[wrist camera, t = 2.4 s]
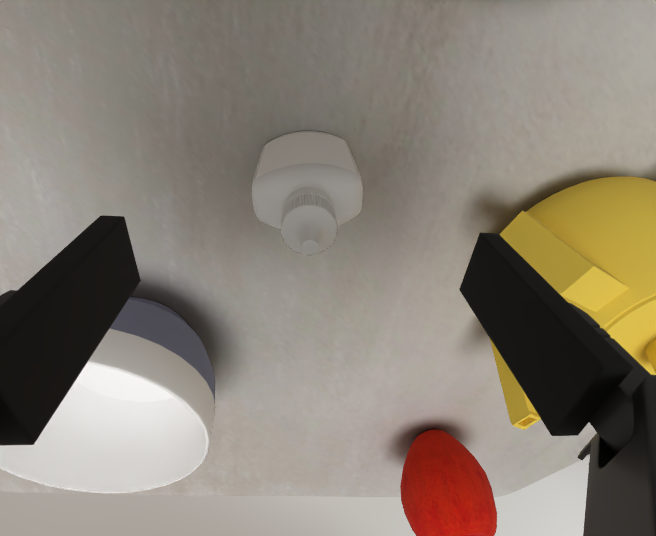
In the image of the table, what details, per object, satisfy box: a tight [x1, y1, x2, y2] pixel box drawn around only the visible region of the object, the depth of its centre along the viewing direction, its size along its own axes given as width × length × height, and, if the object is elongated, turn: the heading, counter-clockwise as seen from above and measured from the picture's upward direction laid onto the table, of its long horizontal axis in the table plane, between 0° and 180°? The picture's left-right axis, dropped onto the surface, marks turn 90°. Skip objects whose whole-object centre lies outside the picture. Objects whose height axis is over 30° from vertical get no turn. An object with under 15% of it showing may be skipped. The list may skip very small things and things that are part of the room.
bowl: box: [0, 297, 215, 493], centre depth 28 cm, size 16×16×10 cm
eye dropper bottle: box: [251, 131, 363, 255], centre depth 19 cm, size 4×6×12 cm
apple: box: [400, 429, 497, 536], centre depth 39 cm, size 10×10×12 cm
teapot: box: [490, 177, 656, 430], centre depth 25 cm, size 17×17×12 cm
